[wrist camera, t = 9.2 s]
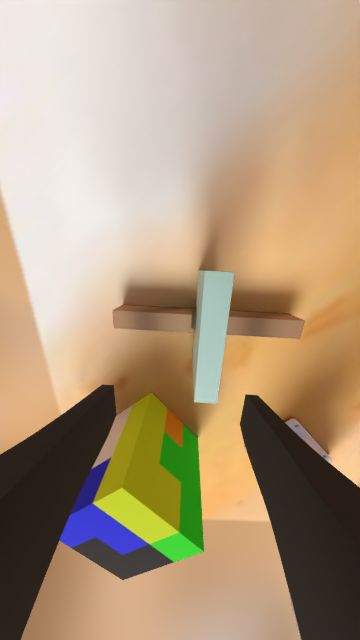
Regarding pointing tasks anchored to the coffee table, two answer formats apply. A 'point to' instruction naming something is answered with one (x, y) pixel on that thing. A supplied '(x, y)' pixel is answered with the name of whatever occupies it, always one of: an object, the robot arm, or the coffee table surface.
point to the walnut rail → (186, 318)
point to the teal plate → (210, 332)
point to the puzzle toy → (140, 494)
